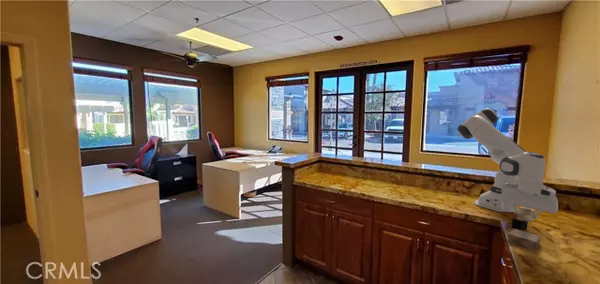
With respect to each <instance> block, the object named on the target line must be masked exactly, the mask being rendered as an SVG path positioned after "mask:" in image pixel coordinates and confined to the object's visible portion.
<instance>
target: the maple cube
mask: <svg viewBox="0 0 600 284" xmlns="http://www.w3.org/2000/svg"><path fill="white" fill-rule="evenodd" d="M517 209H518V218H517V219H520V220H524V221H527V222H529V223H533V222H534V218H533V214H535V211H536V209H532V208H528V207H524V206H520V207H519V208H517Z"/></svg>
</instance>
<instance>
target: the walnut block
mask: <svg viewBox="0 0 600 284" xmlns="http://www.w3.org/2000/svg"><path fill="white" fill-rule="evenodd" d="M540 242H541V235H540V234H539V235H538V234H535V233H532V232H528V231H525V230H522V231H521V230H518V229H513V228H512V230H510V232H509V233H508V236H507V243H510V244H513V245H516V246H519V247H523V248H526V249H529V250H532V251H535V252H536V251H537V249H538V248H539V246H540V244H541V243H540Z"/></svg>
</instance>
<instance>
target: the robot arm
mask: <svg viewBox="0 0 600 284" xmlns="http://www.w3.org/2000/svg"><path fill="white" fill-rule="evenodd" d="M498 120H499V118H498V114H497V112H496V111H494V110H493V109H491V108H488V107H487V108H486V107H485V108H483V109H480V111H478V112H477V113H475V114H473V115H471V116H470V117H469V118H467V119H466V120H465V121H464V122H462V123H460V124H459V125H458V126H457V129H456V130H457V132H458V134H459V136H460V137H462V138H464V139H466V140H471V139H475V141H476V142H477V143H479V144H480V145H482V146H484V148H485V149H486V150H487V151H488V153H489V155H490V159H491V160H492V161H493V162H494V163H496V164H497V165H499V170H498V171H497V173H496V174H495V176H494V177H495V178H494V183H493V184H491V185H490V186H489V189H490V190H488V191H486V192H484V193H481V194H480V195H479V197H478V199H476V200H475V201H474V202H473V205H475V206H478V207H483V208H484V209H489V210H492V211H495V212H499V213H504V212H505V213H513V212H515V214H518V209H519V208H517V207H518V206H520V207H526V208H530V209H534V210H536V212H537V213H534V214H533V218H534V219H535V220H538V216H539V215H540V214H541V213H542V212H547V213H551V214H556V213H557V212H558V210H559V209H558V208H559V201H558V197H557V196H556V194H557V191H556V190H555V189H553V188H552V187H548V186H546V185H544V175H546V174H545V173H546V172H545V171H546V159H545V156H544V155H542V154H541V153H538V152H533V151H526V150H525V149H524V148H523V147H521V145H519V144H518V143H517V142H516V141H514V140H513V139H512V138H510V137H508V136H507V135H505V134H504V133H503V132H502V131H500V130H498V129H497V128H496V127H495V126H494V124H496V123H497V122H498Z"/></svg>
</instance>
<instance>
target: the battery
mask: <svg viewBox="0 0 600 284" xmlns="http://www.w3.org/2000/svg"><path fill="white" fill-rule="evenodd" d="M517 218H518V214H515V212H512V219H511V220H512V221H511V229H512V230H513V229H518V230H521V231H525V230H527V229H528V225H529V224H528V222H527V221H524V220H520V219H517Z"/></svg>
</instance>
